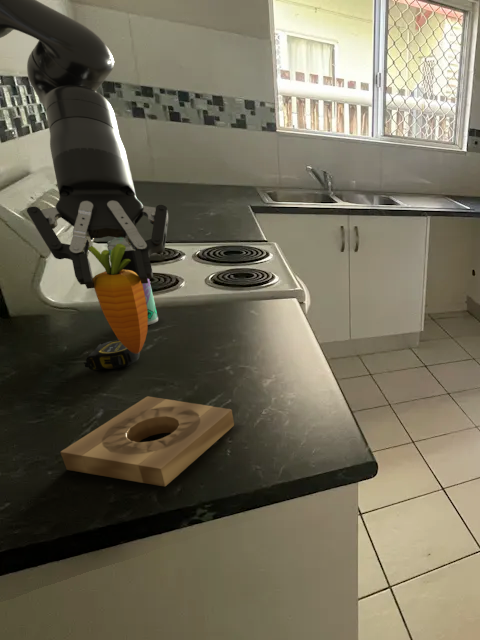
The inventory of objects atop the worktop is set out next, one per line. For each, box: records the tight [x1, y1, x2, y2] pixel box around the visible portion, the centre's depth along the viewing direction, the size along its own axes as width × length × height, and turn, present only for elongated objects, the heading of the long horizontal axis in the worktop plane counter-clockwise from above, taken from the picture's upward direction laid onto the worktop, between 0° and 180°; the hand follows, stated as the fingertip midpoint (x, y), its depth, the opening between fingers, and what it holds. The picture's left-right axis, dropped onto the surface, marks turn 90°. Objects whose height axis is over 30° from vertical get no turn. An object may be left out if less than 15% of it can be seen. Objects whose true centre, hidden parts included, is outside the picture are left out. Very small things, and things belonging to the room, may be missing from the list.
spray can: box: [106, 237, 159, 326], centre depth 99 cm, size 6×6×20 cm
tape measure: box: [83, 339, 141, 371], centre depth 86 cm, size 7×7×4 cm
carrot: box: [88, 244, 149, 354], centre depth 60 cm, size 5×5×15 cm
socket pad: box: [60, 395, 235, 487], centre depth 68 cm, size 14×14×3 cm
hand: (117, 282), depth 58 cm, fingers closed on carrot, 4 cm apart
